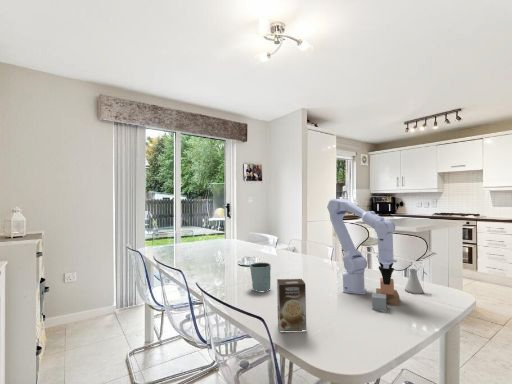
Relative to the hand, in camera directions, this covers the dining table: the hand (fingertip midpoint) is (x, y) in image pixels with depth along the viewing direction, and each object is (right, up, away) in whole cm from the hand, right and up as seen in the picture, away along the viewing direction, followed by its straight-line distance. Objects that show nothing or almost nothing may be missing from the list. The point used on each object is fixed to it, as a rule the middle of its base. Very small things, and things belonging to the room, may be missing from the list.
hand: (386, 281), depth 117 cm
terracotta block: (0, -4, 0) cm, 4 cm away
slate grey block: (-6, -8, -7) cm, 12 cm away
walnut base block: (0, -8, 0) cm, 8 cm away
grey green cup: (-52, -10, +20) cm, 57 cm away
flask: (+17, -8, +10) cm, 21 cm away
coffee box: (-42, -9, -21) cm, 48 cm away
